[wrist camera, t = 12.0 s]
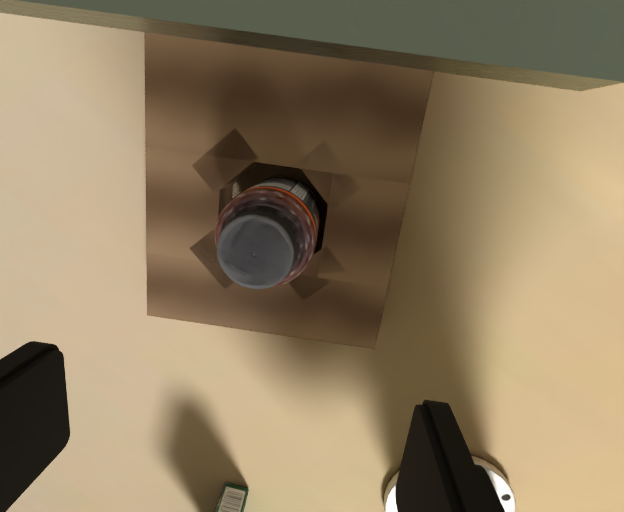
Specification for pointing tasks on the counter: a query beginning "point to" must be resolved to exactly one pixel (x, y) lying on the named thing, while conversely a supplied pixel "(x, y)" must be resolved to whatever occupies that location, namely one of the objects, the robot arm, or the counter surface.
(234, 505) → the coffee box
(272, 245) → the supplement bottle
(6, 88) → the counter surface
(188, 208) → the socket block
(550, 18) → the small grey stool
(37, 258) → the counter surface
